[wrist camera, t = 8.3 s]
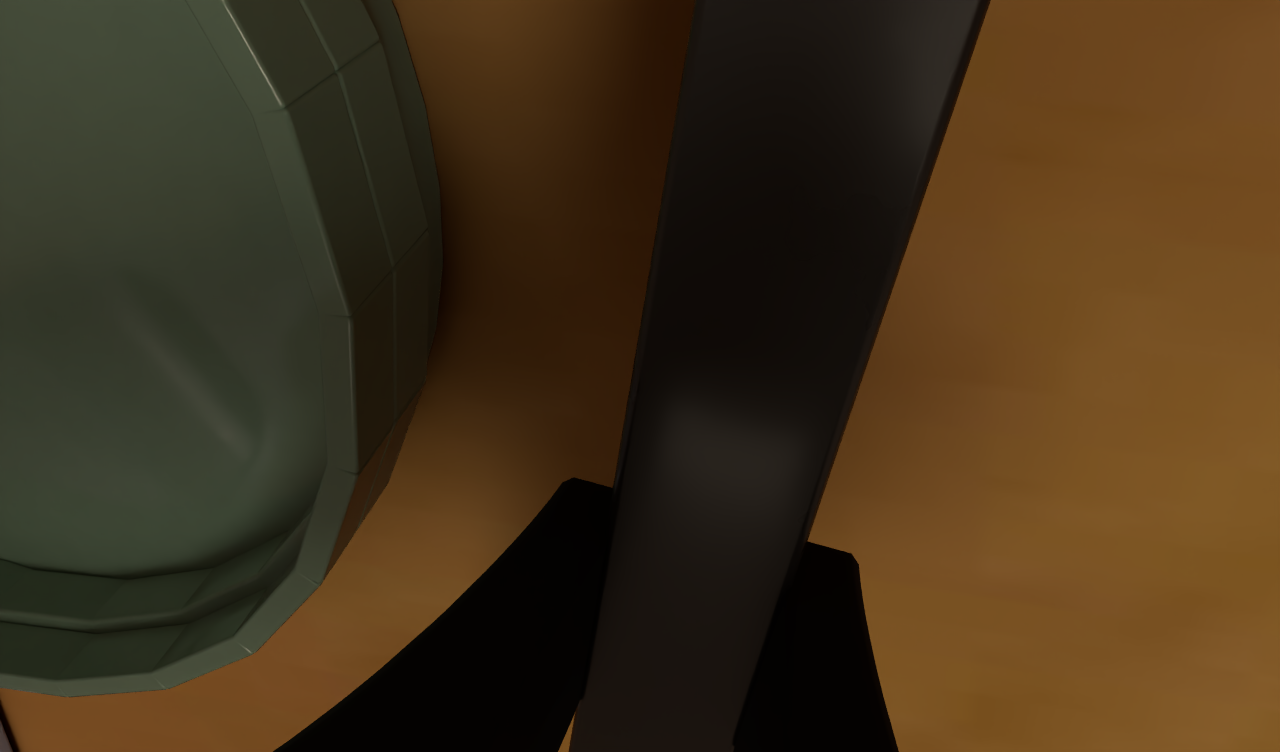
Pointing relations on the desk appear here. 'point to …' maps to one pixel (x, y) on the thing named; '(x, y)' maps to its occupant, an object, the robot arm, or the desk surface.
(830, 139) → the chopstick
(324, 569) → the green round tray
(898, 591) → the desk surface
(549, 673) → the robot arm
